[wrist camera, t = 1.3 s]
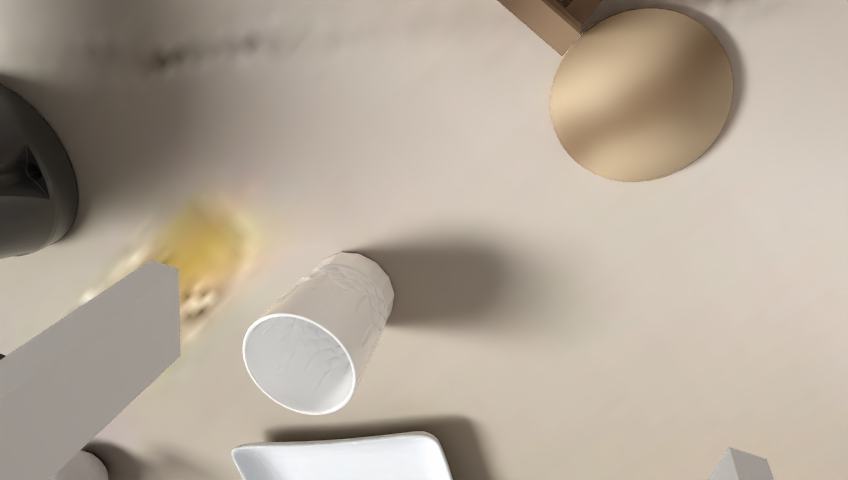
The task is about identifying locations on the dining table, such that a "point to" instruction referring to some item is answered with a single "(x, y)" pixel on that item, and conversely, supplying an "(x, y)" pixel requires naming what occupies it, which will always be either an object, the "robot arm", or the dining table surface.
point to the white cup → (320, 335)
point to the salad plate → (346, 459)
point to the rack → (553, 19)
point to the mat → (641, 95)
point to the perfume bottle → (82, 468)
